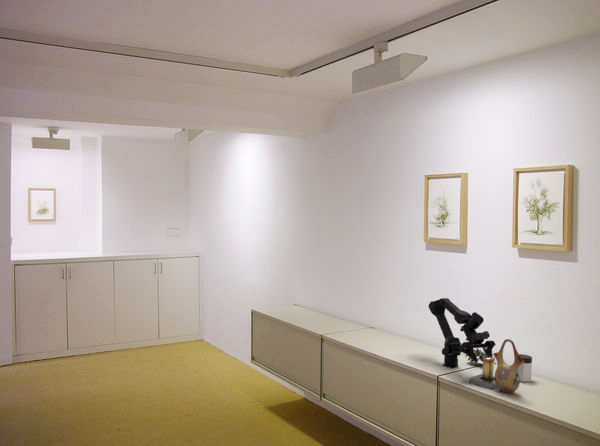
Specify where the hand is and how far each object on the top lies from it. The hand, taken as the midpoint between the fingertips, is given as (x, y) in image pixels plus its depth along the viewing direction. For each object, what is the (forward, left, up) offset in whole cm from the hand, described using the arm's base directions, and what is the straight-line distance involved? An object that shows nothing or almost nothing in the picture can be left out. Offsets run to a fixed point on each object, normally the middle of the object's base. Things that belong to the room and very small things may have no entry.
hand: (484, 361), depth 263 cm
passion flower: (-18, +25, -11) cm, 32 cm away
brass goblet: (+2, -1, -10) cm, 11 cm away
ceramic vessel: (+14, -4, -11) cm, 18 cm away
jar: (+9, +21, -11) cm, 25 cm away
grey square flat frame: (+2, -1, -10) cm, 11 cm away
